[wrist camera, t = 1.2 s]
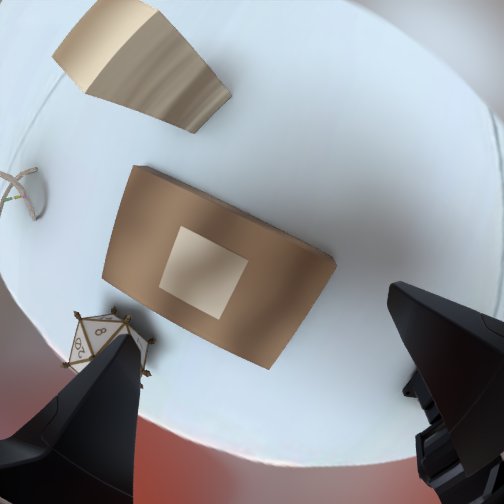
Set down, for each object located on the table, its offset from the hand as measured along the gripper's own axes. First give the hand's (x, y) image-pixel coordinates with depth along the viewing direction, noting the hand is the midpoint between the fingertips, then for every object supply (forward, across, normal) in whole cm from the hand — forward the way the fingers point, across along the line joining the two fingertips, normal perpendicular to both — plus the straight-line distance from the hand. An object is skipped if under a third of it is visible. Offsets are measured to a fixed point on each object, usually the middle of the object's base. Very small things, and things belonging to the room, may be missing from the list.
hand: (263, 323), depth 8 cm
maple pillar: (+15, +2, -9) cm, 17 cm away
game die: (+13, +13, +10) cm, 21 cm away
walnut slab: (+12, +3, +4) cm, 13 cm away
